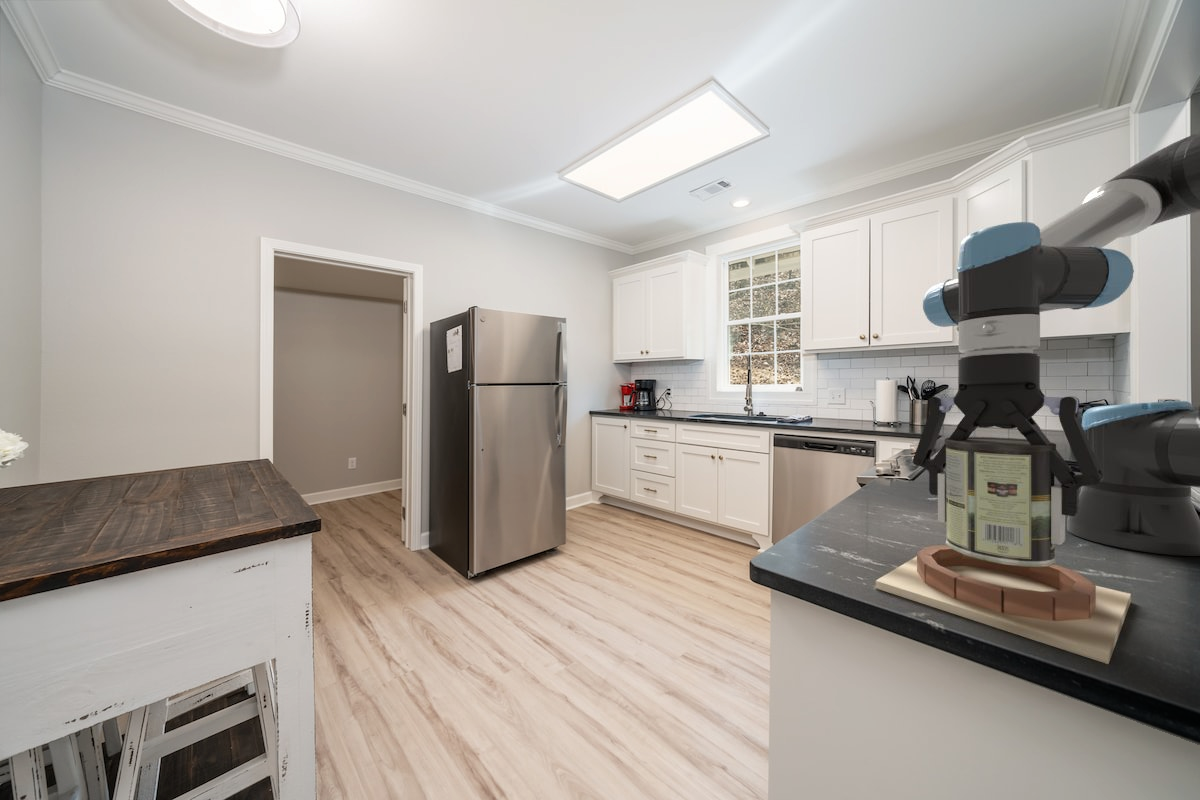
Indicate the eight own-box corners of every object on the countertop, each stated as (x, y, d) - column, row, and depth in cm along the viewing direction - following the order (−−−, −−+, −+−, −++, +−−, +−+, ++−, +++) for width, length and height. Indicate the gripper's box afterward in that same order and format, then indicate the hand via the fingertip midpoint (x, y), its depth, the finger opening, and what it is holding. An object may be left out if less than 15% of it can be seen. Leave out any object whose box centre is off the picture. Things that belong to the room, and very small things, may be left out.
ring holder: (931, 553, 69) (931, 531, 69) (1130, 602, 52) (1130, 573, 52) (875, 588, 57) (875, 561, 57) (1108, 664, 41) (1108, 627, 41)
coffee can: (1014, 540, 59) (1014, 436, 58) (1081, 571, 48) (1082, 446, 48) (928, 536, 61) (928, 435, 60) (976, 564, 51) (976, 444, 50)
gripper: (883, 359, 61) (884, 515, 62) (1138, 342, 43) (1136, 565, 43) (905, 360, 66) (905, 506, 66) (1144, 346, 47) (1143, 549, 47)
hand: (996, 530), depth 55 cm, fingers closed on coffee can, 10 cm apart
